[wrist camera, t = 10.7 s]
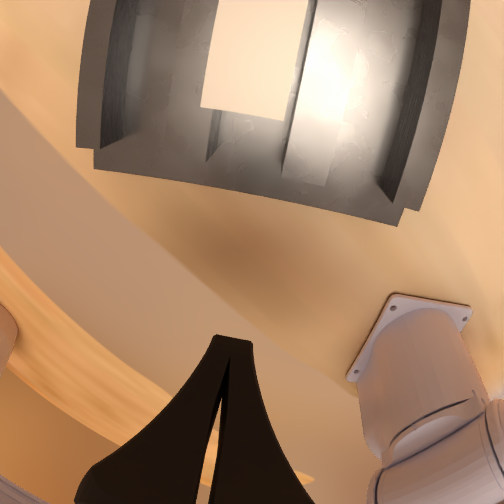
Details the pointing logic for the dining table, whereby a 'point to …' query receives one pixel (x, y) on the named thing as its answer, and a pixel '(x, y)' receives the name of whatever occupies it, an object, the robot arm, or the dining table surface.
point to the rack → (298, 106)
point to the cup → (6, 336)
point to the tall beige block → (253, 56)
